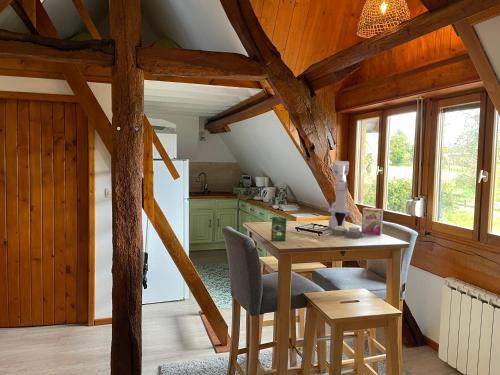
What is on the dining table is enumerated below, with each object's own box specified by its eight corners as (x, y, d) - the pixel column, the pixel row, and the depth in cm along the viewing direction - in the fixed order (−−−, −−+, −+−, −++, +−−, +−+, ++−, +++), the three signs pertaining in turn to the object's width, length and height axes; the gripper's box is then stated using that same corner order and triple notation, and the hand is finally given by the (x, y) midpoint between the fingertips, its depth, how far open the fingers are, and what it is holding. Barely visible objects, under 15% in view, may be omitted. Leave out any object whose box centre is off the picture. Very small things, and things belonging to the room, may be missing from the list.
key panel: (328, 237, 229) (329, 229, 228) (335, 234, 236) (336, 227, 235) (358, 241, 217) (358, 233, 217) (364, 239, 224) (364, 231, 224)
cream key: (334, 232, 229) (334, 227, 228) (337, 231, 232) (338, 226, 232) (341, 233, 226) (341, 228, 226) (344, 232, 229) (344, 227, 229)
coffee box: (285, 240, 219) (286, 216, 218) (286, 241, 216) (286, 217, 215) (271, 239, 219) (271, 216, 218) (271, 240, 216) (271, 217, 215)
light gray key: (348, 232, 223) (349, 227, 223) (352, 231, 226) (352, 226, 226) (356, 233, 220) (356, 228, 220) (359, 232, 224) (359, 227, 223)
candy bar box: (360, 235, 234) (362, 208, 233) (363, 234, 239) (364, 207, 237) (380, 237, 229) (381, 210, 227) (382, 236, 233) (383, 209, 231)
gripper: (326, 202, 229) (325, 225, 230) (349, 204, 220) (348, 228, 221) (331, 200, 234) (331, 223, 236) (354, 203, 225) (353, 226, 227)
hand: (339, 225), depth 229 cm, fingers closed
